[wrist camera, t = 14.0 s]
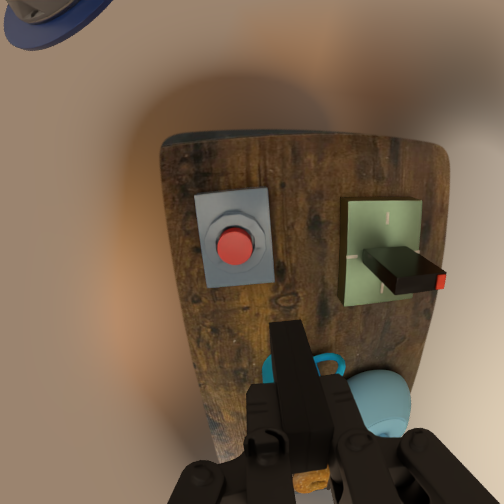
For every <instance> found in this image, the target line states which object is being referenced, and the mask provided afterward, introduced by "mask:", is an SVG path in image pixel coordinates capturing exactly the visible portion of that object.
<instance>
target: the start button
mask: <svg viewBox="0 0 504 504" xmlns="http://www.w3.org/2000/svg"><path fill="white" fill-rule="evenodd" d="M252 249H253V248H252V239H251V237H250V235H249V234H248V233H247V232H246V231H245V230H243V229H241V228H229V229H227V230H225V231H224V232H223V233H222V234H221V236H220V238H219V241H218V245H217V251H218V254H219V256H220V258H221V259H222V260H223V261H224V262H226V263H228V264H231V265H239V264H242V263H244V262H246V261H247V260H248V259H249V258H250V256H251V254H252Z"/></svg>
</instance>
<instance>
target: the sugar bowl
mask: <svg viewBox="0 0 504 504" xmlns="http://www.w3.org/2000/svg"><path fill="white" fill-rule="evenodd" d="M347 382H348V384H349V387H350V389H351V392H352V394H353V396H354V399H355V401H356V404H357V406H358V409H359V411H360V414H361V416H362V419H363V421H364V424H365V426H366V428H367V429H368V430H369V431H370V432H372V433H373V434H374V435H377V436H380V437H401V436H402V435H403V434H404V432H405V430H406V428H407V425H408V421H409V416H410V410H411V397H410V392H409V389H408V386H407V384H406V382H405V380H404V378H403V377H402V376H400V375H399V374H397V373H395V372H393V371H389V370H370V371H365V372H362V373H359V374H357V375H355V376H353V377H351V378H349V379H348V380H347Z"/></svg>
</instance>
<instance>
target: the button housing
mask: <svg viewBox="0 0 504 504" xmlns="http://www.w3.org/2000/svg"><path fill="white" fill-rule="evenodd" d="M194 199H195V207H196V215H197V222H198V230H199V237H200V244H201V251H202V258H203V264H204V271H205V277H206V283H207V288H214V287H226V286H238V285H249V284H259V283H270V282H275V278H274V264H273V250H272V237H271V224H270V212H269V200H268V188H267V187H266V186H259V187H248V188H238V189H228V190H219V191H210V192H202V193H197V194H195V195H194ZM229 228H241V229H243V230H245V231H246V232H247V233H248V234H249V235H250V237H251V239H252V248H253V249H252V254H251V256H250V258H249V259H248V260H247V261H246V262H244V263H242V264H239V265H231V264H228V263H226V262H224V261H223V260H222V259H221V258H220V256H219V254H218V251H217V245H218V241H219V238H220V236H221V234H222V233H223V232H224V231H225V230H227V229H229Z"/></svg>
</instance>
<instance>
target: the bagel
mask: <svg viewBox="0 0 504 504" xmlns="http://www.w3.org/2000/svg"><path fill="white" fill-rule="evenodd" d="M329 476H330V470H329V466H328V465H327V469H323V470H317V471H311V472H304V473H297V474H294V477H293V487H294V489H295V490H296V491H297V492H300V493H310V492H312V491H314V490H318V489H323V488H325V487H327V483H328V479H329Z"/></svg>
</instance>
